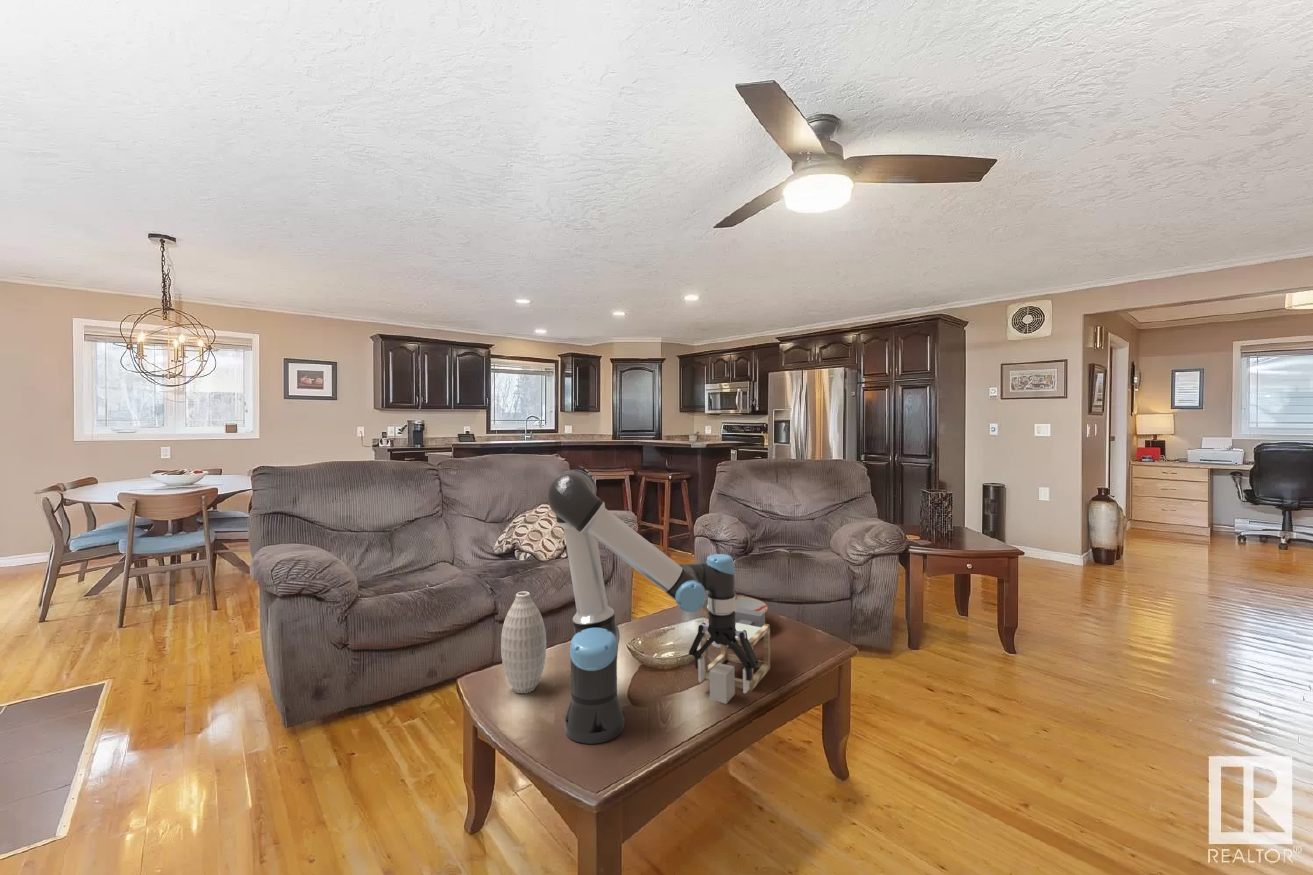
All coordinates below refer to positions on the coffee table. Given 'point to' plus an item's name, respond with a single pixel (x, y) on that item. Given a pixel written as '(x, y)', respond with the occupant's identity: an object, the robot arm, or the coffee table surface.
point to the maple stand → (763, 665)
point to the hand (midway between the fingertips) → (723, 685)
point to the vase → (523, 644)
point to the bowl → (744, 604)
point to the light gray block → (722, 683)
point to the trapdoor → (749, 621)
